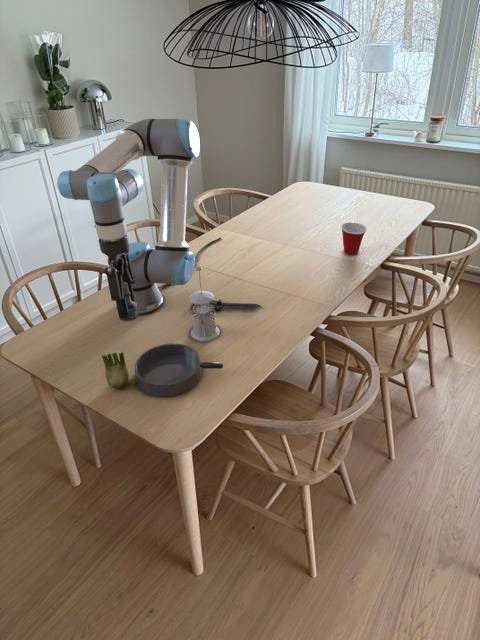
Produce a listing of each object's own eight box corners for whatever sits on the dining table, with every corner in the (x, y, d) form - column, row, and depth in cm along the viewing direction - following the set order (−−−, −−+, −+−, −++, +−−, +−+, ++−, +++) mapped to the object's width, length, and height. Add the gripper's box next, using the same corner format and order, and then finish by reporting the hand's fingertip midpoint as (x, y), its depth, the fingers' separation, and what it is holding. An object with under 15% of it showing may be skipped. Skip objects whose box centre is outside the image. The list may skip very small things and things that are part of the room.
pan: (145, 354, 150) (143, 343, 147) (205, 355, 148) (204, 343, 146) (129, 396, 134) (126, 384, 131) (196, 397, 132) (195, 385, 130)
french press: (220, 323, 162) (215, 258, 148) (218, 344, 153) (213, 276, 139) (191, 324, 163) (184, 259, 149) (188, 344, 153) (180, 277, 139)
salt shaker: (122, 310, 140) (114, 274, 133) (141, 311, 139) (134, 275, 132) (115, 321, 135) (107, 284, 128) (135, 322, 134) (128, 285, 127)
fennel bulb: (131, 381, 139) (124, 348, 132) (124, 392, 135) (116, 359, 129) (113, 378, 140) (105, 346, 134) (106, 389, 136) (97, 357, 130)
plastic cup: (359, 260, 197) (362, 233, 191) (334, 255, 202) (336, 228, 196) (367, 250, 205) (371, 224, 198) (344, 245, 210) (346, 220, 203)
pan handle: (199, 369, 138) (199, 364, 137) (200, 365, 139) (200, 360, 138) (223, 369, 137) (222, 365, 136) (223, 366, 139) (223, 361, 138)
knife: (262, 306, 171) (262, 302, 170) (259, 315, 166) (259, 312, 165) (196, 300, 176) (195, 297, 175) (191, 309, 170) (190, 306, 170)
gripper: (110, 222, 131) (124, 294, 144) (85, 251, 116) (104, 329, 128) (136, 222, 131) (148, 294, 143) (115, 252, 115) (131, 330, 128)
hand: (127, 310), depth 136 cm, fingers closed on salt shaker, 6 cm apart
